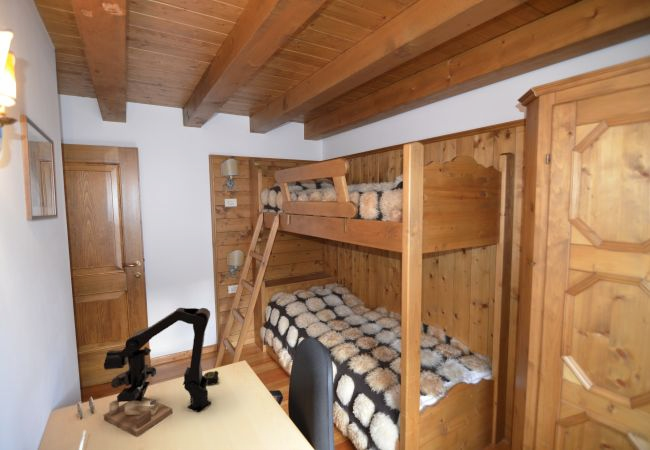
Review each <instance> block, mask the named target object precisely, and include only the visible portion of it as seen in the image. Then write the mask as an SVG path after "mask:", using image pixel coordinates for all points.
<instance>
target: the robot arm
mask: <svg viewBox="0 0 650 450" xmlns="http://www.w3.org/2000/svg"><path fill="white" fill-rule="evenodd" d="M210 317H211V311H210V310H209V309H208V308H206V307H201V308H197V307H193V308H191V307H190V308H189V307H188V308H186V307H178V308H176V310H174V311H173V312H171V313H169V314H168V315H166V316H165V317H163V318H161V319H160V320H158V321H157V322H155V323H154V324H153V325H151V326H148V327H147V328H146V327H145V328H143V329H140V330H138V331H135V332H134V333H133V334H132V335H131V336H130V337H129V338H128V339H127V340H126V341H125V346H124V348H123V349H118V350H117V349H116V350H113V349H112V350H111V349H110V350H108V351H107V352H106V357H105V359H104V363H103V368H104V370H105V371H108V370H117V369H124V368H125V366H128V370H126V371H124V372H121V373H119V374H116V376H115V377H114V378H112V380H111V381H110V386H111V388H112V389H118V388H119V387H122V386H123V385H124V386H127V387H124V388H123V389H122V390H121V391H120V392H119V393H118V395H117V396H116V400H117V401H118V402H119V403H121V402H122V403H123V402H124V403H126V402H128V401H134V400H135V401H142V399H143V397H145V394H146V391H147V389H148V387H149V385H150V381H147V379H148V378H149V376H151V378H152V377H153V378H154V377H155V375H156V374H157V368H156V367H154V366H152V367H151V366H150V367H149V364H147V363H146V361H147V359H146V356H149V354H150V353H151V351H152V349H151V348H148V347H147V346H145V345H146V344H147V343H148V342H149V341H150V340H152V338H154V337H156V336H157V335H158V334H160V333H162V332H163V331H164V330H167V329H168V328H170V326H172V325H174V324H175V323H177V322H180V321H181V322H184V323H186V324H187V325H192V329H193V340H192V341H193V343H192V351H191V358H190V364H189V365H190V367H186V370H185V372H184V375H183V383H182V385H183V386H184V390H185V391H186V392H188V394H189V396H190V404H189V405H187V408H188V409H190V410H192V411H195V412H197V413H200V412H201V411H202V410H204V409H205V408H206V407H208V406H209V405H211V403H212V402H211V401H210V400H209V398H208V397H209V396H208V395H209V390H208V389H207V386H208V385H207V383H208V379H206V378H205V377H204V374H203V367H202V360H203V359H202V358H203V352H204V351H203V349H204V342H205V335H206V329H207V327H208V324H209V320H210ZM144 346H145V347H144ZM143 347H144V348H143ZM128 386H129V387H128Z"/></svg>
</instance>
